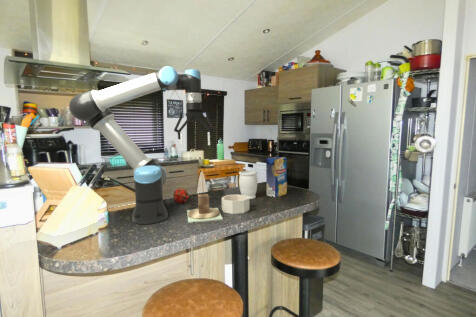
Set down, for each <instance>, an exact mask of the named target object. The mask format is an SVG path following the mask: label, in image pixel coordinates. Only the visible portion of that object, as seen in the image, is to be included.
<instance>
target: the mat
mask: <svg viewBox="0 0 476 317" xmlns="http://www.w3.org/2000/svg"><path fill="white" fill-rule="evenodd" d="M214 208H215V209H218V210H219V208H218V207H214ZM191 210H192V209H187V210H186V212H187V213H186V215H187V223H188V224H194V223H193V222H195V223H202V222H203V223H206V222H215V221H216V222H217V221H223V220H224V218H223V216H222V215H221V212H220V211H219V215H218V216H217V217H214V218H211V219H192V218H190V217H189V216H188V212H189V211H191Z"/></svg>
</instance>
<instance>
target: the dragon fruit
mask: <svg viewBox="0 0 476 317" xmlns="http://www.w3.org/2000/svg"><path fill="white" fill-rule="evenodd" d="M172 194H173V196H172V197H173V201H174V202H175V203H178V204H179V205H181V204H183V203H186V202H187V201H188V200H191V196H190V195H189V193H188V190H187V189H185V188H183V187H179V188H176V189H175V190H174V191H173V193H172Z"/></svg>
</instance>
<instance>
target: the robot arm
mask: <svg viewBox="0 0 476 317" xmlns="http://www.w3.org/2000/svg"><path fill="white" fill-rule="evenodd" d="M161 90H162V91H185V102H186V104H185V106H186V107H185V110H186V112H181V111H180V113H179V118H178V120H177V123H176V125H175V127H174V129H173V132H175V133H177V139H178V140H180V147H183V133H182V131H183V129H184V128H185V127H186V126H187V125H188V123H189V122H200V123H201V124H202V125H203V126H204V127H205V129H207V131H208V132H207V146H211V139H212V138H213V132H215V131H216V128H215V126H214V124H213V122H212V120H211V118H210V116H209V112H208V111H206V112H203V106H202V78H201V71H200V70H199V69H195V68H189V69H185V71H184V73H178V71H177V70H176V69H175V68H174V67H172V66H169V65H166V66H163V67H162V68H161V69H160V70H158V71H155V72H152V73H149V74H146V75H143V76H140V77H137V78H134V79H131V80H128V81H125V82H120V83H119V84H116V85H112V86H110V87H106V88H104V89H100V90H96V89H92V90H88V91H85V92H82V93H78V94H76V95H74V96H73V97H72V98H71V99H70V101H69V104H68V108H69V111H70V114H71V115H72V116H73V117H74V118H75V119H76V120H78V121H82V122H86V124H88V126H89V127H90V128H91V129H92V130H93V131H98V132H100V134H101V135H103V136H102V137H103V138H105V139H106V140H107V142H109V144H110V145H111V146H112V147H113V148H114V150H116V151H117V153H118V154H120V156H121V157H122V158H123V159H124V161H126V162H127V163H128V165H129V166H130V167H131V168H132V170H133V180H134V183H133V184H134V194H135V196H134V198H135V204H134V205H135V206H134V209H133V212H132V218H131V219H132V223H135V224H138V225H150V224H156V223H160V222H164V221H165V220H167V219H168V217H169V214H168V213H169V212H168V210H167V208H166V205H165V202H164V199H163V198H164V197H163V196H164V195H163V193H164V192H163V186H164V184H165V183H166V181H167V172H166V170H165V168H164V167H162V166H161V165H159V164H158V163H157V162H156V160H155V159H154V158H152V157H148V156H147V155H146V154H145V153H144V152H143V150H142V149H141V148H140V147H139V145H137V144H136V143H135V142H134V141H133V139H131V137H130V136H129V135H128V133H126V132H125V130H124V129H123V128H122V127H121V125H119V123H117V121H116V120H115V114H114V113H113V112H112V111H111V108H112V107H113V106H118V105H120V104H122V103H126V102H128V101H129V102H130V101H131V100H134V99H138V98H139V97H143V96H146V95H149V94H153V93H155V92H158V91H161ZM184 117H186V118H187V119H186V120H185V121H184V123H183V124H182V125H181V127H180V128H179V125H180V124H181V122H182V119H183V118H184ZM203 117H204V118H206V121H207V122H208V124H207V123H206V122H205V120H203V119H202V118H203ZM208 125H209V126H210V127H209V126H208Z"/></svg>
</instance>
